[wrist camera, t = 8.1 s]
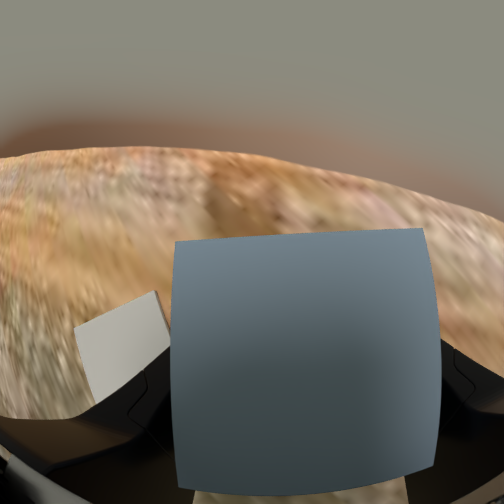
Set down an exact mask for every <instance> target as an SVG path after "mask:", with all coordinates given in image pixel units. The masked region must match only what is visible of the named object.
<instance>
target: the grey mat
mask: <svg viewBox="0 0 504 504" xmlns="http://www.w3.org/2000/svg"><path fill="white" fill-rule="evenodd" d="M74 332H75V336H76V341H77V345H78V348H79V352H80V356H81V359H82V363H83V366H84V370H85V373H86V376H87V379H88V382H89V385H90V388H91V391H92V394H93V397H94V399H95V402H96V404H97V403H99V402H100V401H102V400H103V399H105V398H106V397H108V396H109V395H111V394H112V393H113V392H115V391H116V390H118V389H119V388H120V387H122V386H123V385H124V384H126V383H127V382H128V381H129V380H130V379H132V378H133V377H134V376H135V375H136V374H138V373H139V372H140V371H141V370H143V369H144V368H145V367H146V366H147V365H148V364H149V363H150V362H152V361H153V360H154V359H155V358H156V357H157V356H158V355H160V354H161V353H162V352H163V351H164V350H165V349H166V348H168V347H169V346H170V330H169V327H168V324H167V321H166V319H165V316H164V313H163V310H162V307H161V304H160V301H159V298H158V295H157V292H156V291H154V290H153V291H151V292H149V293H147V294H145V295H143V296H140V297H138V298H136V299H134V300H132V301H130V302H128V303H126V304H124V305H121V306H119V307H117V308H115V309H113V310H111V311H109V312H107V313H105V314H103V315H100V316H98V317H96V318H94V319H92V320H90V321H88V322H86V323H84V324H82V325H80V326H77V327H75V328H74Z"/></svg>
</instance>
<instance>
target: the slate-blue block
mask: <svg viewBox="0 0 504 504" xmlns="http://www.w3.org/2000/svg"><path fill="white" fill-rule="evenodd" d="M170 379H171V408H172V426H173V440H174V451H175V462H176V471H177V479H178V487H180V488H185V489H191V490H197V491H204V492H212V493H221V494H231V495H247V496H291V495H307V494H317V493H326V492H334V491H341V490H347V489H352V488H358V487H363V486H367V485H372V484H376V483H380V482H384V481H388V480H392V479H395V478H399V477H402V476H405V475H408V474H411V473H414V472H417V471H420V470H423V469H426V468H428V467H431V466H433V463H434V457H435V451H436V445H437V437H438V429H439V419H440V405H441V341H440V327H439V317H438V308H437V300H436V292H435V286H434V280H433V274H432V268H431V263H430V258H429V253H428V249H427V244H426V240H425V236H424V232H423V228H410V229H384V230H361V231H339V232H319V233H301V234H283V235H266V236H250V237H234V238H219V239H205V240H191V241H177V242H175V252H174V265H173V280H172V299H171V329H170Z"/></svg>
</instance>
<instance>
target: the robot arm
mask: <svg viewBox="0 0 504 504" xmlns="http://www.w3.org/2000/svg"><path fill="white" fill-rule="evenodd" d="M440 341H441V405H440V419H439V429H438V437H437V445H436V451H435V457H434V463H433V466H431V467H428V468H426V469H423V470H420V471H417V472H414V473H411V474H408V475H405V476H404V478H405V483H406V489H407V496H408V502H409V504H504V378H503V377H501V376H499V375H497V374H496V373H494V372H492V371H490V370H489V369H487V368H485V367H483V366H482V365H480V364H478V363H477V362H475V361H473V360H472V359H470V358H469V357H467V356H466V355H464V354H463V353H461V352H460V351H458V350H457V349H454V347H452V346H451V345H450V344H448V343H447V342H445V341H444V340H442V339H441V338H440ZM0 444H1V445H2V446H3V447H4V448H6V449H7V450H8V451H9V452H10V453H12V454H11V456H10V458H9V460H8V461H7V460H6V459H4V458H3V457H2V456H1V455H0V504H192V503H193V499H194V494H195V490H191V489H185V488H180V487H178V479H177V471H176V462H175V451H174V440H173V426H172V408H171V379H170V346H169V347H168V348H166V349H165V350H164V351H163V352H162V353H161V354H160V355H158V356H157V357H156V358H155V359H154V360H153V361H152V362H150V363H149V364H148V365H147V366H146V367H145V368H144V369H143V370H141V371H140V372H139V373H138V374H136V375H135V376H134V377H133V378H132V379H130V380H129V381H128V382H127V383H126V384H124V385H123V386H122V387H120V388H119V389H118V390H116V391H115V392H113V393H112V394H111V395H109V396H108V397H106V398H105V399H103V400H102V401H100V402H99V403H97V404H96V405H94V406H93V407H91V408H90V409H88V410H87V411H85V412H84V413H82V414H81V415H78V416H76V417H73V418H69V419H59V420H32V419H13V418H7V417H3V416H0Z"/></svg>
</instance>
